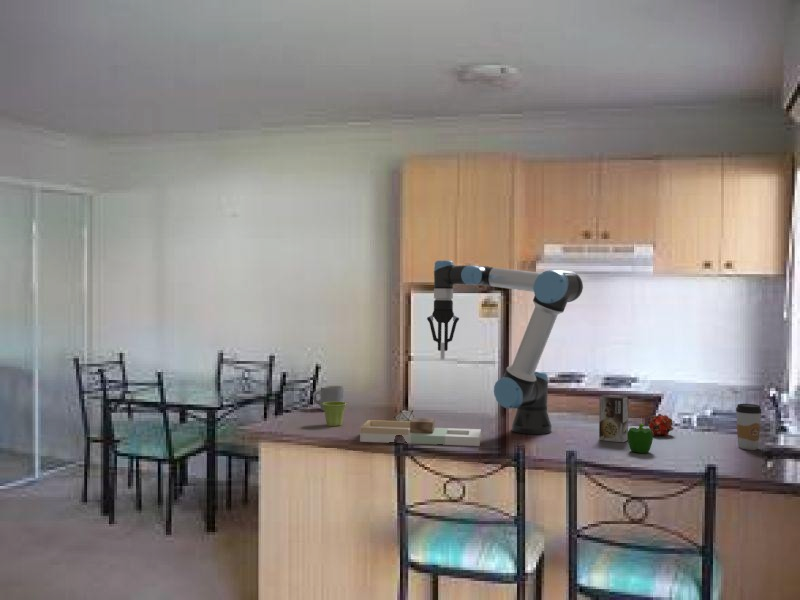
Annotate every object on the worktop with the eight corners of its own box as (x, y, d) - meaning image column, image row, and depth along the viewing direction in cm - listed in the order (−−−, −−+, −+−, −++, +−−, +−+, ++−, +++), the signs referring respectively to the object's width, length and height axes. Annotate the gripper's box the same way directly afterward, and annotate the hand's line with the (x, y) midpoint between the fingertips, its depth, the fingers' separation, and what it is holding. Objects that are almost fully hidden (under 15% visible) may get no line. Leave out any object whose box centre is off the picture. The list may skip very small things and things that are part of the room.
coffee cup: (746, 451, 274) (747, 407, 274) (729, 446, 282) (730, 403, 282) (766, 449, 277) (767, 406, 276) (749, 445, 285) (750, 403, 284)
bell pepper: (628, 448, 276) (628, 419, 276) (653, 450, 273) (653, 421, 273) (625, 453, 268) (626, 423, 268) (651, 455, 265) (652, 425, 265)
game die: (403, 441, 304) (392, 421, 300) (397, 429, 312) (387, 410, 307) (423, 429, 304) (413, 410, 300) (418, 418, 312) (407, 399, 308)
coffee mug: (346, 408, 359) (346, 386, 358) (338, 411, 349) (338, 388, 349) (318, 406, 362) (318, 384, 362) (310, 410, 353) (310, 387, 353)
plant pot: (343, 427, 310) (343, 405, 310) (319, 426, 312) (319, 404, 311) (348, 423, 319) (348, 401, 319) (325, 422, 321) (325, 401, 321)
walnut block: (434, 429, 291) (434, 418, 291) (432, 433, 283) (432, 422, 283) (412, 428, 292) (412, 417, 292) (410, 432, 284) (410, 421, 284)
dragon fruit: (668, 437, 307) (657, 446, 297) (649, 422, 310) (638, 431, 301) (680, 421, 303) (670, 430, 293) (662, 406, 306) (651, 415, 297)
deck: (480, 437, 293) (480, 423, 293) (479, 446, 277) (479, 431, 277) (367, 433, 299) (367, 420, 299) (360, 441, 283) (360, 427, 283)
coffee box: (628, 440, 291) (629, 396, 291) (622, 443, 286) (623, 398, 286) (604, 437, 296) (605, 393, 296) (598, 440, 291) (598, 395, 291)
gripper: (460, 299, 319) (459, 358, 320) (427, 299, 321) (427, 357, 321) (459, 300, 312) (458, 360, 312) (426, 299, 313) (425, 359, 314)
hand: (442, 359), depth 317 cm, fingers closed
